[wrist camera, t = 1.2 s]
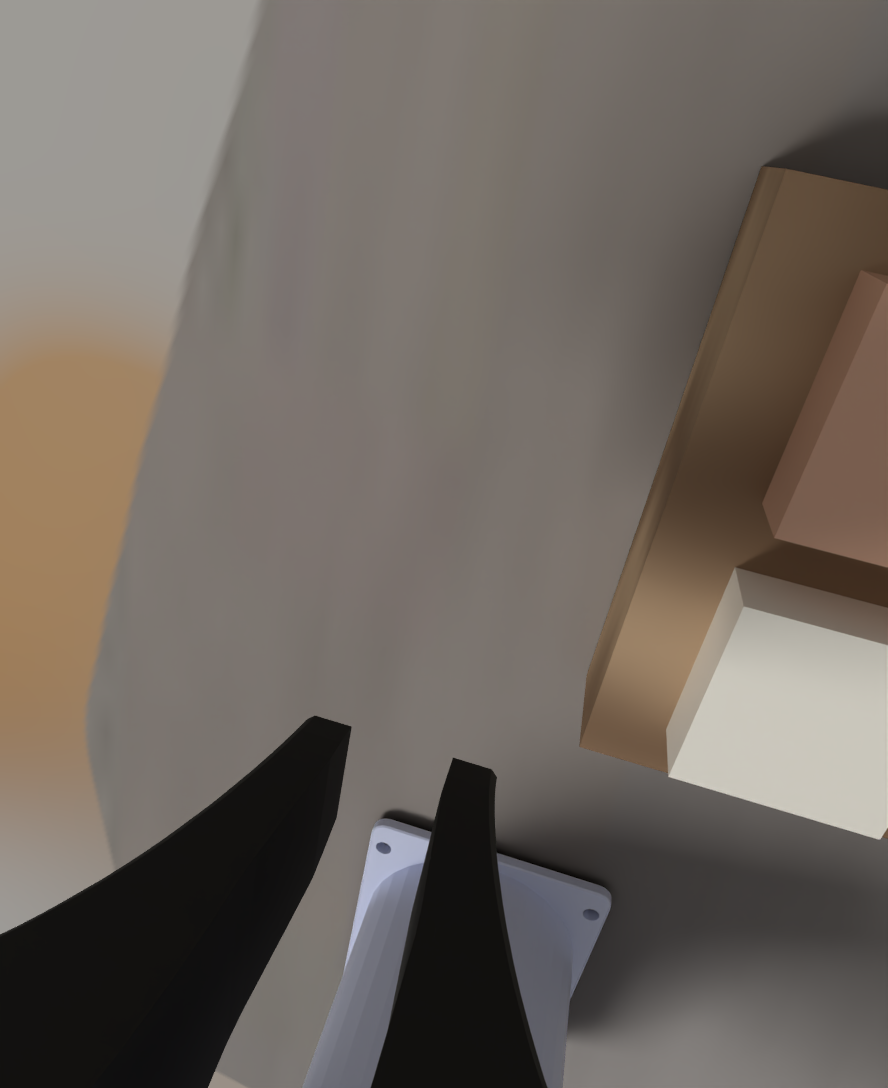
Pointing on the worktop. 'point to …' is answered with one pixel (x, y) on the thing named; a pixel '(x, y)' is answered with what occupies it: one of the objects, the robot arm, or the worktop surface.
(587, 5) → the worktop surface
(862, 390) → the terracotta tile
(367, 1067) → the robot arm
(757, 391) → the walnut board
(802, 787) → the cream tile
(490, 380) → the worktop surface
